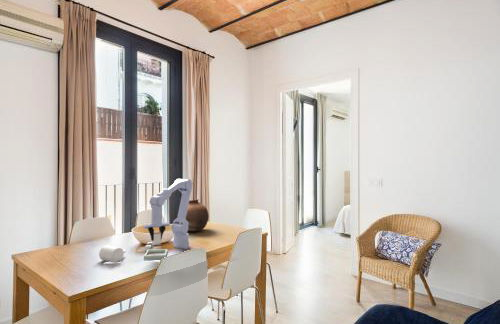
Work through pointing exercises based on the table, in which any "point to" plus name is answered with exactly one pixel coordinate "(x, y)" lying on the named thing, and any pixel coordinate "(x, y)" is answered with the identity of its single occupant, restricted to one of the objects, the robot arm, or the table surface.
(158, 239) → the white and orange block
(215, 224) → the table surface
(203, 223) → the pottery
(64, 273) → the table surface
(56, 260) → the table surface
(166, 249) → the tray
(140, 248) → the clip board
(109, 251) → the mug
